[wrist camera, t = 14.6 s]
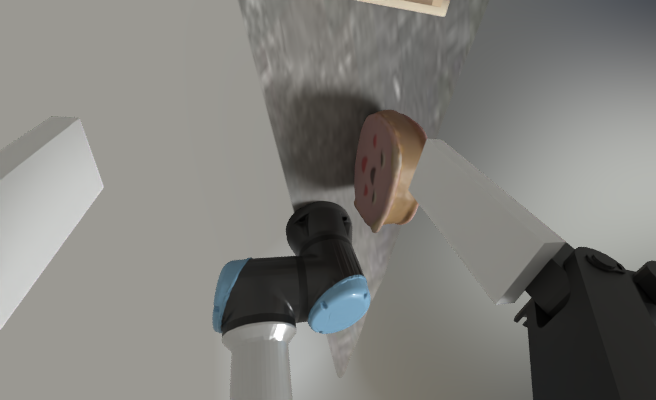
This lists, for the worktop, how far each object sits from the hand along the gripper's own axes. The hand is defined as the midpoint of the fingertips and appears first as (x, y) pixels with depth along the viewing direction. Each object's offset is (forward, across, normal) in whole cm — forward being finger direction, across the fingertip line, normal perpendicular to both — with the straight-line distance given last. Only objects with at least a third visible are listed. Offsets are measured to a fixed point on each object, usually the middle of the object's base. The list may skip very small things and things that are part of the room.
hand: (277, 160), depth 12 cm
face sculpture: (+39, -22, +18) cm, 48 cm away
